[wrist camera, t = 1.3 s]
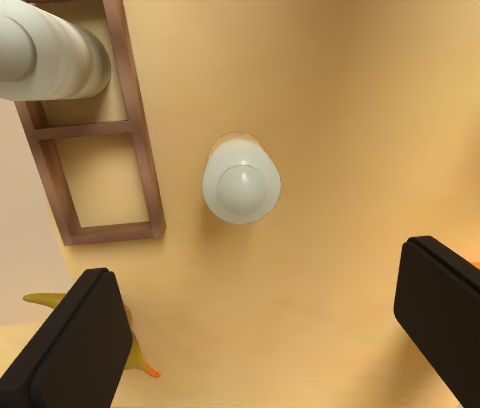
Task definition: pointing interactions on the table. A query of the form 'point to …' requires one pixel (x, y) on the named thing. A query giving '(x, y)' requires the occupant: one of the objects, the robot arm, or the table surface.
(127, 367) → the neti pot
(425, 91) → the table surface
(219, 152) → the celadon canister
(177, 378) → the table surface
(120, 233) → the walnut tray
